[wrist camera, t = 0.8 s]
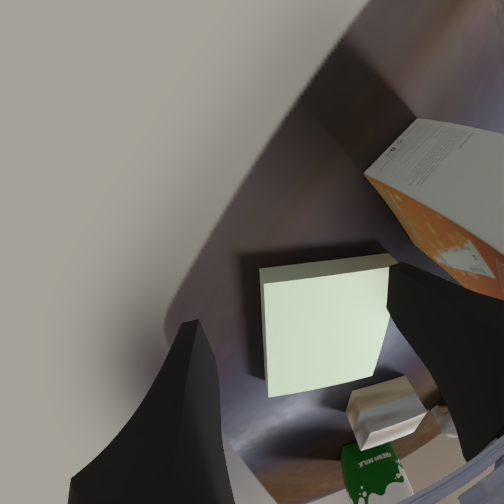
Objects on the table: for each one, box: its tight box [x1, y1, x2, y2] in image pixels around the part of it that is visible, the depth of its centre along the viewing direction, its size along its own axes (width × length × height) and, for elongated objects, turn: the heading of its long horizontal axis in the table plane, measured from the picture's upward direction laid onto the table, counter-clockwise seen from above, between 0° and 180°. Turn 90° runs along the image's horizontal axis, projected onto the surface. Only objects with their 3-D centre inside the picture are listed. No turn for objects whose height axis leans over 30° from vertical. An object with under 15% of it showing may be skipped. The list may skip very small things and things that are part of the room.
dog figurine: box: [431, 405, 458, 438], centre depth 32 cm, size 5×13×11 cm, turn 70°
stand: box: [259, 253, 398, 397], centre depth 23 cm, size 12×10×2 cm
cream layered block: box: [346, 375, 427, 451], centre depth 27 cm, size 4×7×6 cm, turn 93°
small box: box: [364, 118, 504, 300], centre depth 13 cm, size 8×6×13 cm
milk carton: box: [341, 441, 414, 504], centre depth 28 cm, size 9×9×20 cm
